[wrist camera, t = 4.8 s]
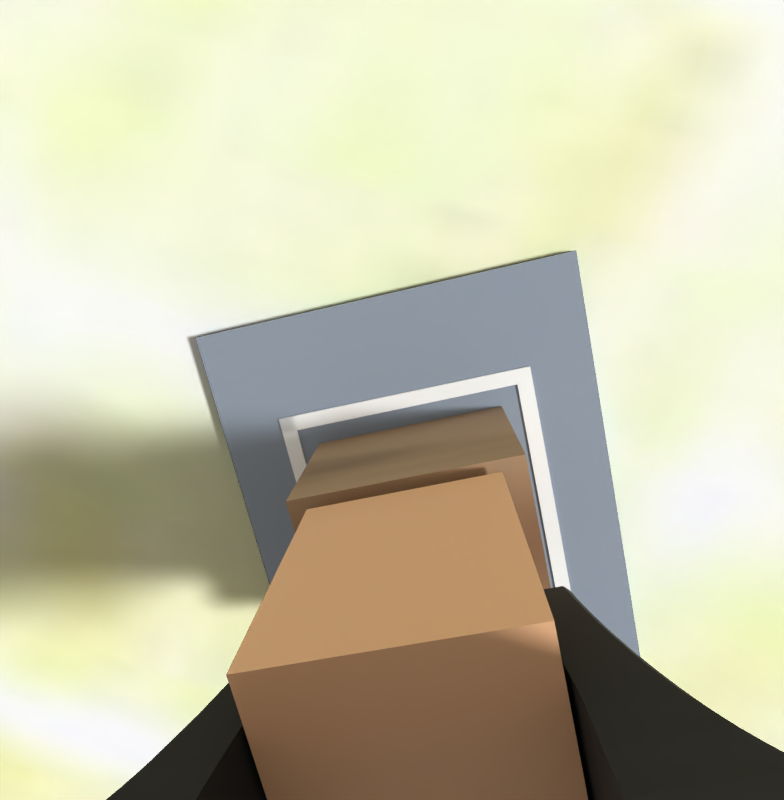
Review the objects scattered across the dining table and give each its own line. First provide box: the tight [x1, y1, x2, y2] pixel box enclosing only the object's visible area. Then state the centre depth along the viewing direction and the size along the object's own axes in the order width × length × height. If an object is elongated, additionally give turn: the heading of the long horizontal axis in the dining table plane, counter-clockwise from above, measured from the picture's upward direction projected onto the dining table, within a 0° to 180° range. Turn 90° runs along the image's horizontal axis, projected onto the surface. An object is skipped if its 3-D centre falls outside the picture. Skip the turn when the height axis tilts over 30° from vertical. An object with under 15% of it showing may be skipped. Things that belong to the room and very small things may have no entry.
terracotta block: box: [226, 472, 588, 800], centre depth 10 cm, size 4×4×5 cm
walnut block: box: [286, 406, 551, 589], centre depth 15 cm, size 5×5×4 cm
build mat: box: [196, 251, 640, 656], centre depth 17 cm, size 12×10×1 cm
